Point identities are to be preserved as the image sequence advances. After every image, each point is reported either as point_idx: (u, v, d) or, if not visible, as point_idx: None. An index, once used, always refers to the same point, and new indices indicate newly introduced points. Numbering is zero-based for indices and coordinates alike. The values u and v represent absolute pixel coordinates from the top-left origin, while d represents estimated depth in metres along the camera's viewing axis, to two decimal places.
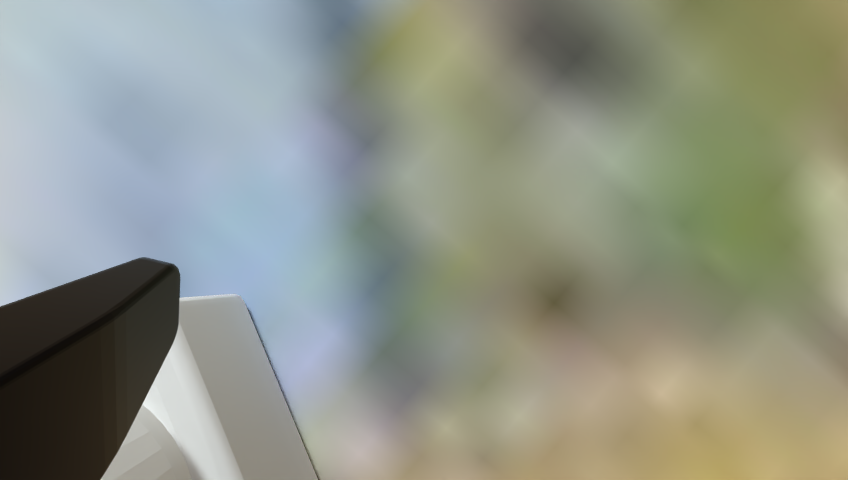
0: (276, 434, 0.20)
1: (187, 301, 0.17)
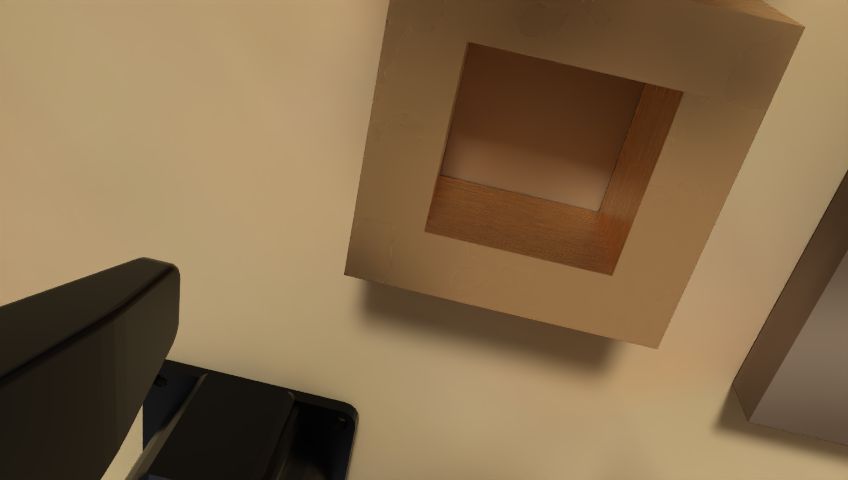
0: None
1: None
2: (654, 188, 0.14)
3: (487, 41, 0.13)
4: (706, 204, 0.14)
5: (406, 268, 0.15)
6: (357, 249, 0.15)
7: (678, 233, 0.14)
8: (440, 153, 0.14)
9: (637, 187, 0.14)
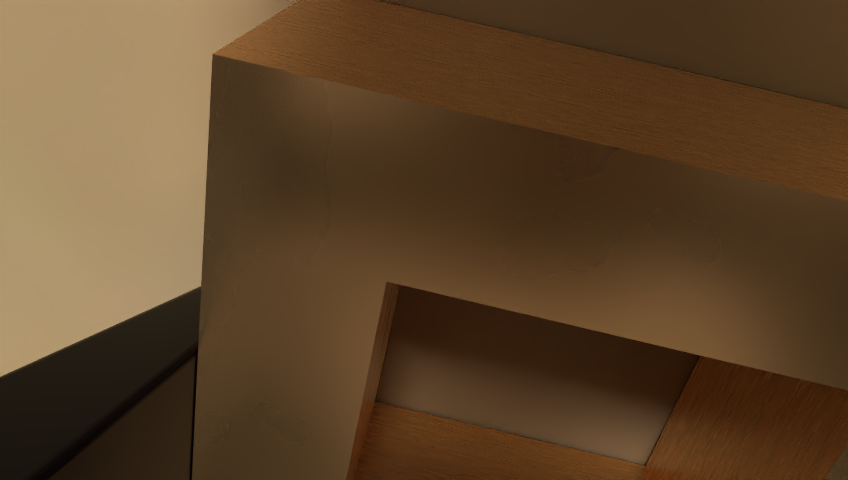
0: None
1: None
2: None
3: (432, 282, 0.06)
4: None
5: None
6: None
7: None
8: (344, 474, 0.07)
9: None
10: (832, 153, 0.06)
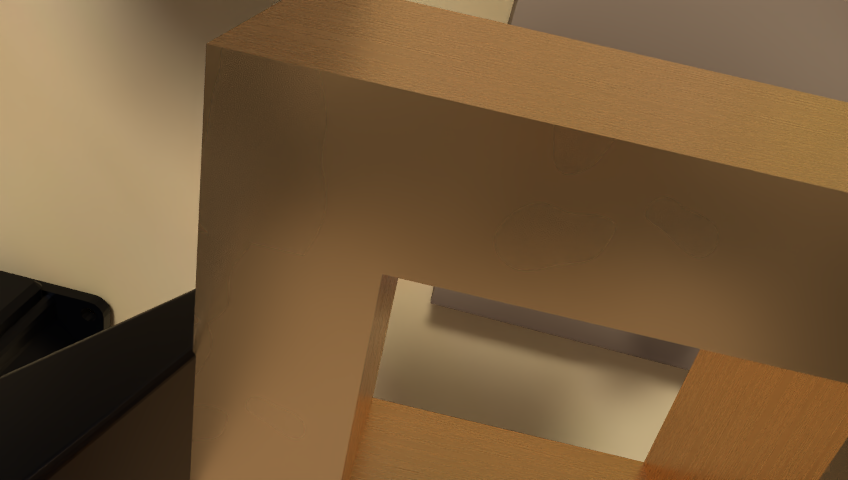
0: None
1: None
2: None
3: (428, 275, 0.06)
4: None
5: None
6: None
7: None
8: (340, 469, 0.07)
9: None
10: (831, 145, 0.06)
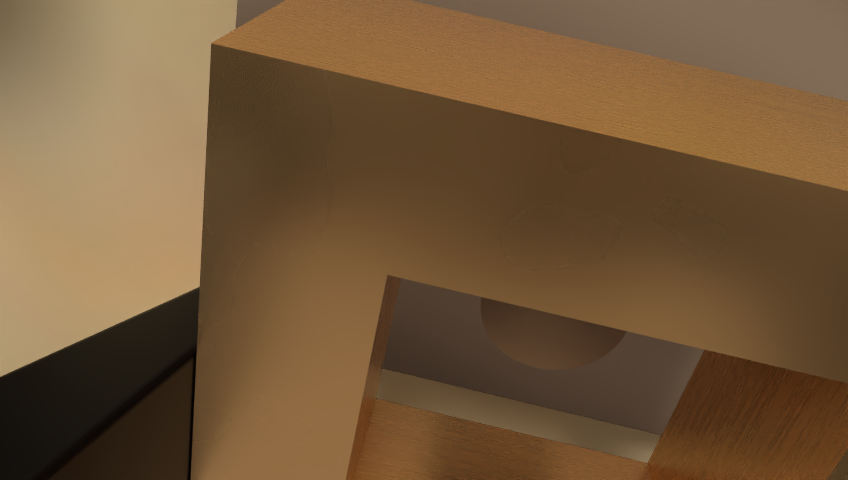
0: None
1: None
2: None
3: (433, 275, 0.05)
4: None
5: None
6: None
7: None
8: (344, 470, 0.07)
9: None
10: (838, 145, 0.06)
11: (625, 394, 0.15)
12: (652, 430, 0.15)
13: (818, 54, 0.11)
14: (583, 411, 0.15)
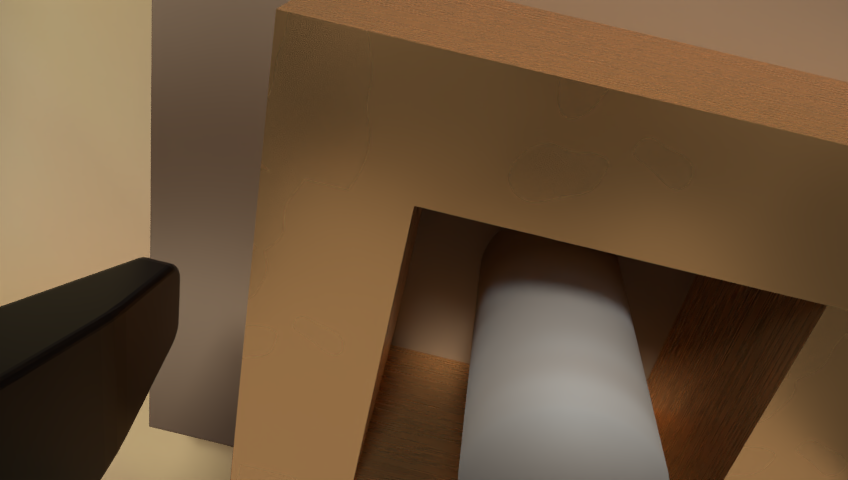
0: None
1: None
2: (754, 452, 0.08)
3: (452, 206, 0.07)
4: None
5: None
6: None
7: None
8: (372, 382, 0.08)
9: (715, 427, 0.08)
10: (790, 102, 0.07)
11: None
12: None
13: None
14: None
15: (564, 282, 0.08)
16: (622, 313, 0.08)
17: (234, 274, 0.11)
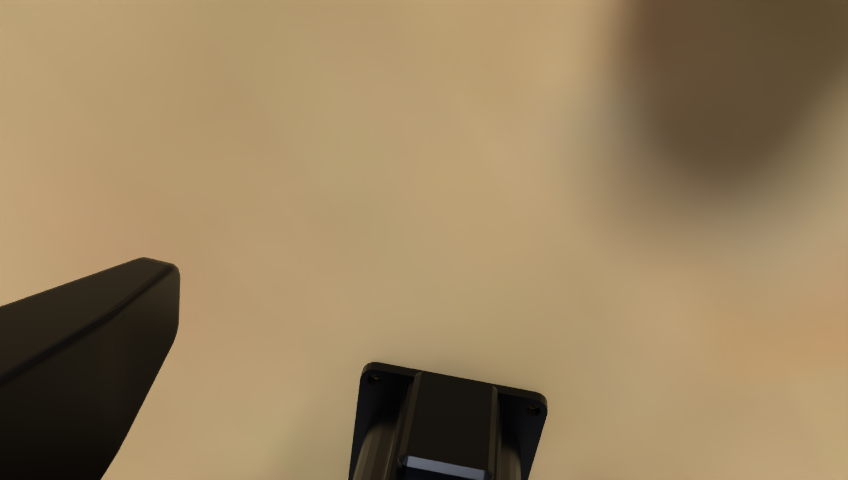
0: None
1: None
2: None
3: None
4: None
5: None
6: None
7: None
8: None
9: None
10: None
11: None
12: None
13: None
14: None
15: None
16: None
17: None
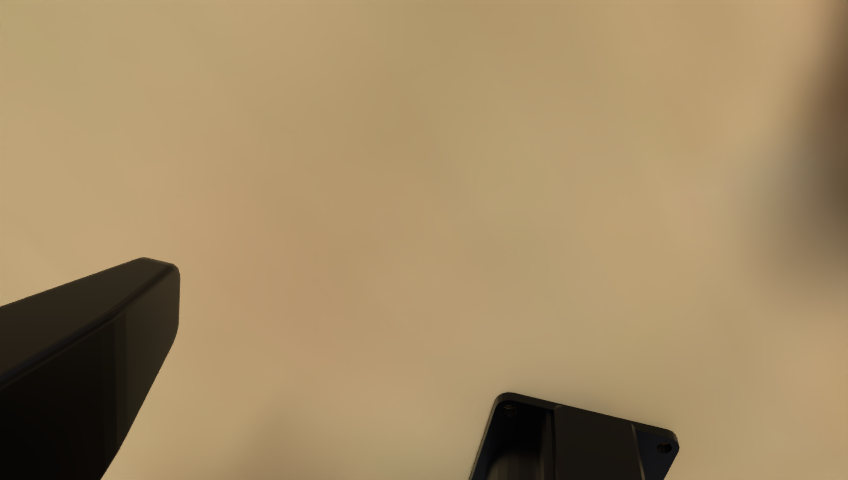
0: None
1: None
2: None
3: None
4: None
5: None
6: None
7: None
8: None
9: None
10: None
11: None
12: None
13: None
14: None
15: None
16: None
17: None
